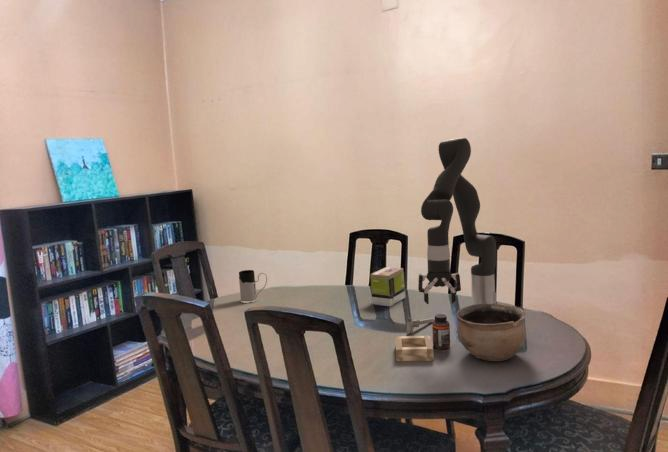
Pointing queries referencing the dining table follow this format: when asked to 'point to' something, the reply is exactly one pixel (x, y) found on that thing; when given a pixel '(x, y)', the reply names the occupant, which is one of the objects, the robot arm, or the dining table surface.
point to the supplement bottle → (441, 332)
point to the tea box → (387, 286)
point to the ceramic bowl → (491, 330)
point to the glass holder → (248, 285)
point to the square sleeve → (414, 348)
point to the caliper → (416, 324)
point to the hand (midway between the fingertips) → (439, 303)
